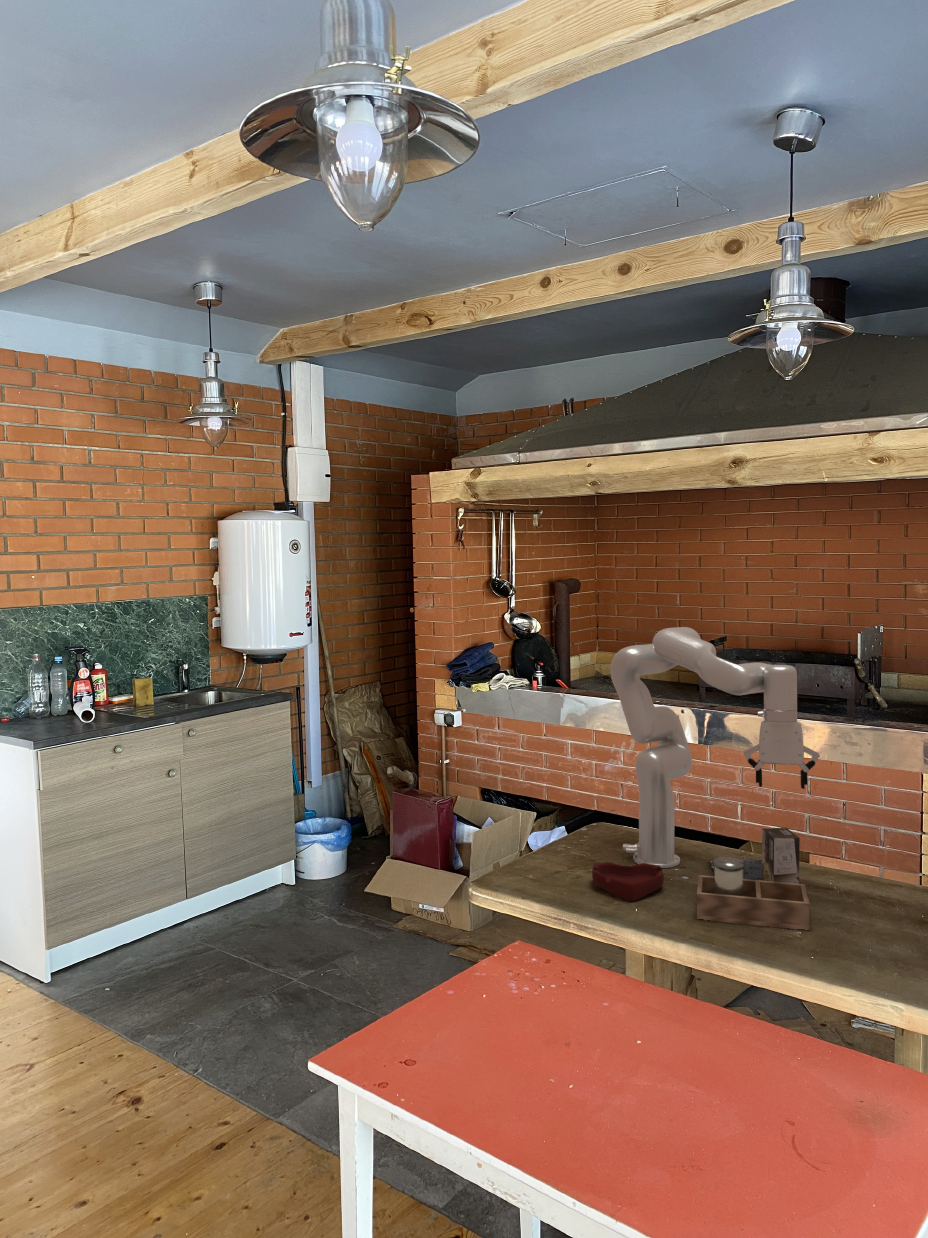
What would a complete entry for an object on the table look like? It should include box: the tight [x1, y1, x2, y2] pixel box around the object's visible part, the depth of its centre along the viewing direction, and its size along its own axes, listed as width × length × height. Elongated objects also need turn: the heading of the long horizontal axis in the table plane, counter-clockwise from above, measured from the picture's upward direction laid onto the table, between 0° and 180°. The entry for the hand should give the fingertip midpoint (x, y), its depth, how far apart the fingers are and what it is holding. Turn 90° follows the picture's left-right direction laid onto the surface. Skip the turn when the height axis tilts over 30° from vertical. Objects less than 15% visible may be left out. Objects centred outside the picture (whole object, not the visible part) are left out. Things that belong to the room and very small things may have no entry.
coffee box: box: [761, 827, 801, 884], centre depth 214 cm, size 9×6×16 cm
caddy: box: [696, 874, 810, 931], centre depth 204 cm, size 24×13×6 cm, turn 73°
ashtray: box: [591, 861, 665, 902], centre depth 220 cm, size 18×16×5 cm
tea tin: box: [713, 856, 745, 896], centre depth 205 cm, size 7×7×11 cm
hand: (781, 786), depth 213 cm, fingers open, 9 cm apart
